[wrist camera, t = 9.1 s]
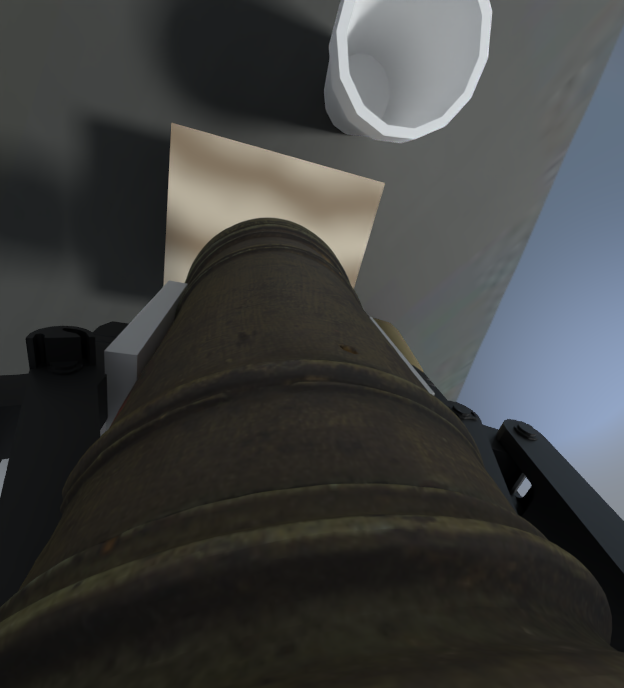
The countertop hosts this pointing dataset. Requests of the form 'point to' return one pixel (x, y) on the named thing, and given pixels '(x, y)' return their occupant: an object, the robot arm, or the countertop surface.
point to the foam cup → (404, 65)
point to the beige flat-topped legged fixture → (259, 198)
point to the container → (294, 515)
